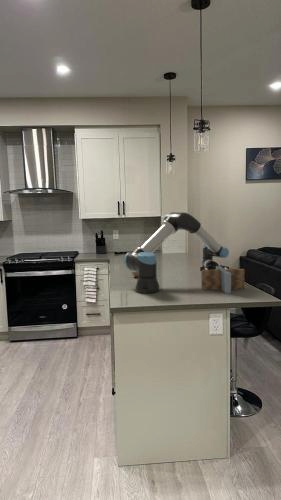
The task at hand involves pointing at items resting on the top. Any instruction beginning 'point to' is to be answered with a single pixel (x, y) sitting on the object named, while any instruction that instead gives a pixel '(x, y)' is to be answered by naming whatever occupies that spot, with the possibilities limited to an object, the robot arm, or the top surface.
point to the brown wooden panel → (213, 280)
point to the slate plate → (225, 279)
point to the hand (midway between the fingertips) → (217, 271)
